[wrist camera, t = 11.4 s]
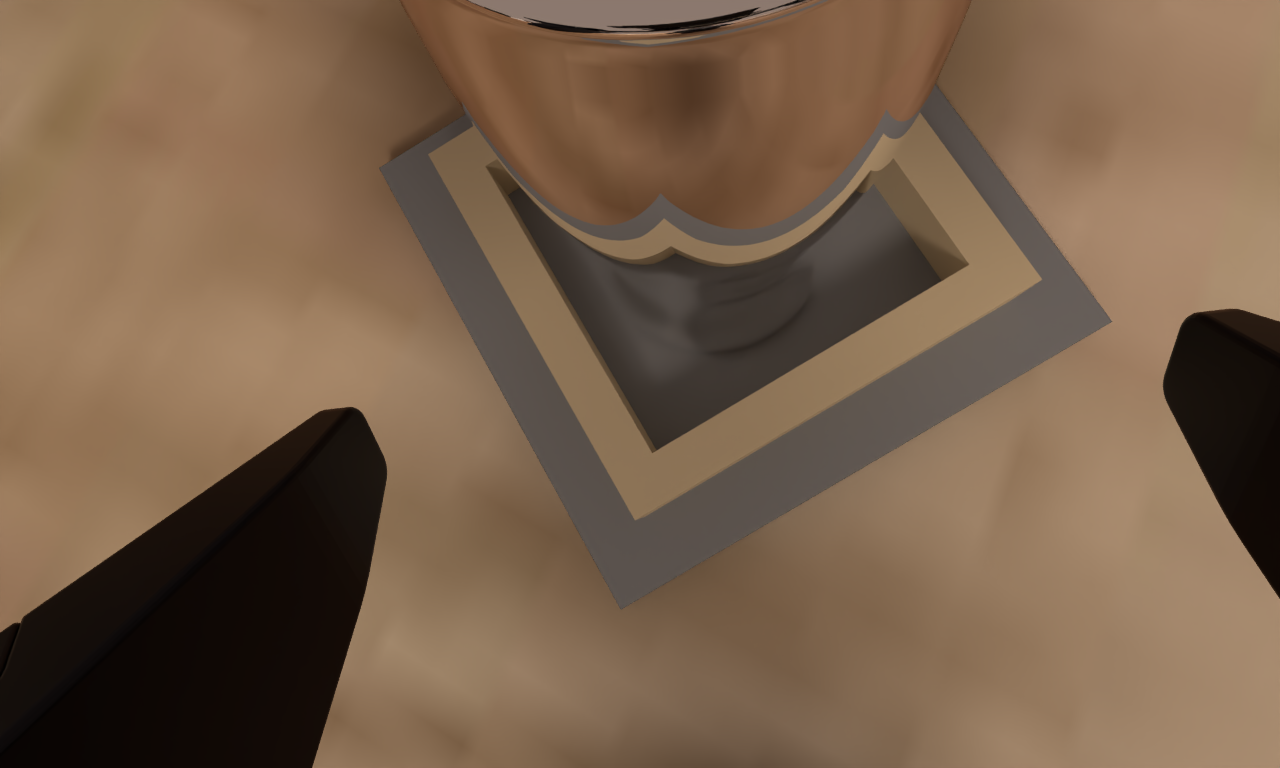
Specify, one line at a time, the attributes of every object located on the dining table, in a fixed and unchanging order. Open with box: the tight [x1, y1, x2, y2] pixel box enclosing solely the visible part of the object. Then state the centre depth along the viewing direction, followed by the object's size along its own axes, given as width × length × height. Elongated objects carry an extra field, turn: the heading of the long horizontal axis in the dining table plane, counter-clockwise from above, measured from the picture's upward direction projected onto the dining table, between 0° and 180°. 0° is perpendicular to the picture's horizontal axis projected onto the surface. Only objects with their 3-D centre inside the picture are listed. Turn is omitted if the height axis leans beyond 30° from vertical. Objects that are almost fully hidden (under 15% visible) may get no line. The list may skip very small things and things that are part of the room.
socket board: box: [379, 84, 1112, 609], centre depth 20 cm, size 15×15×3 cm
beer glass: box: [399, 0, 972, 352], centre depth 13 cm, size 7×7×15 cm
